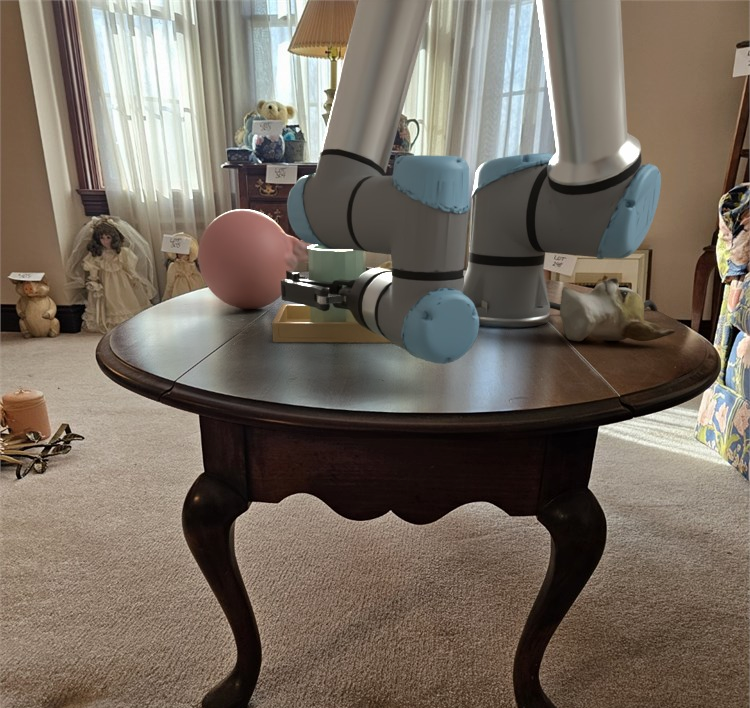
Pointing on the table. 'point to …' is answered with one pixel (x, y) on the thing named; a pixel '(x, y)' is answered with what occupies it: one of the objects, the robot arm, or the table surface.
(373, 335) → the tray
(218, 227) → the balloon
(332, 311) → the cup
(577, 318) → the ceramic sculpture
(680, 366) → the table surface
